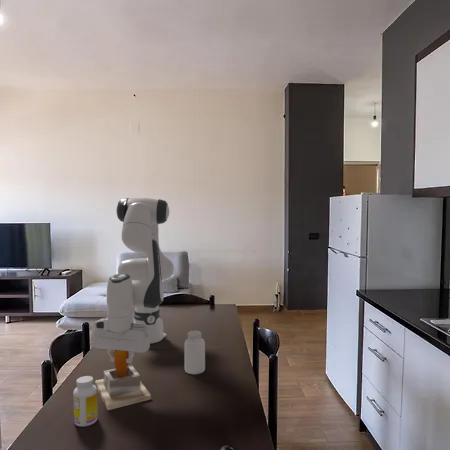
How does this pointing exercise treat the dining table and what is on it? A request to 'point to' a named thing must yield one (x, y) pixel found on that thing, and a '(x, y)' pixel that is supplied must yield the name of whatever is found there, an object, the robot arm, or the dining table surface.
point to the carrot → (121, 362)
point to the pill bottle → (194, 353)
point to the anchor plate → (121, 389)
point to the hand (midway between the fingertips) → (121, 362)
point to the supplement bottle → (85, 402)
